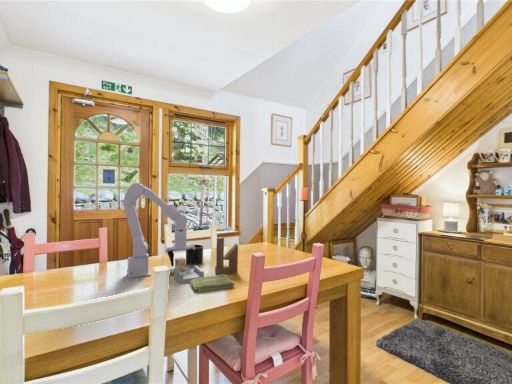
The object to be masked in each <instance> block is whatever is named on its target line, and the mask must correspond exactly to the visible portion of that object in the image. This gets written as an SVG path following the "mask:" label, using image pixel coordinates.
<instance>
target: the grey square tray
mask: <svg viewBox="0 0 512 384" xmlns="http://www.w3.org/2000/svg"><path fill="white" fill-rule="evenodd" d="M173 269H174V275H173V277H174V279H175V280H176V281H177V282H178V283H179V284H186V283H190V281H191V280H193V279H195V278H201V277H205V271H204V270H203V269H201V268H200V267H199V266H198V265H197V264H194V265H193V269H190V270H191V271H183V272H180V271H179V270H178V269H177V268H175V267H174V268H173Z"/></svg>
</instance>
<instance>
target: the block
mask: <svg viewBox="0 0 512 384" xmlns="http://www.w3.org/2000/svg"><path fill="white" fill-rule="evenodd" d="M174 260H175V261H174V268H177V269H178V270H179V271H180V272H181V271H185V267H186V257H175V258H174Z"/></svg>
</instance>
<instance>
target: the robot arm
mask: <svg viewBox="0 0 512 384" xmlns="http://www.w3.org/2000/svg"><path fill="white" fill-rule="evenodd" d="M140 197H142V198H146V199H149V200H151V201H152V202H153V203H155V204H156V205H157V206H158V207H160V208H161V213H162V214H164V215H165V216H166V217H168V219H169V220H171V221H174V224H175V225H174V227H175V228H174V246H169V247H165V248H164V252H165V253H167V256H168V257H169V261H170V265H171V268H172V267H175V261H174V260H175V258H174V257H175V253H174V252H182V251H185V265H190V264H189V261H190V258H191V256H192V254H193V250H195V246H194V245H195V244H189V245H187V224H188V219H187V217H186V215H185V214H184V213H183V212H182V211H181V210H179V209H177V208H176V207H175V204H171V203H166V201H164V200H163V199H162V198H161V197H159V196H158V195H157V194H156V193H155V192H154V191H153V190H151V189H150V188H148V187H147V186H145V185H144V184H142V183H140V182H135V183H132V184H130V186H129V187H128V188H127V190H126V193H125V196H124V198H123V200H122V204H123V209H124V212H125V213H124V214H125V216H126V219H127V223H128V227H129V230H130V235H131V238H132V247H133V248H132V256H129V257H127V269H126V273H127V276H128V278H129V279H132V278H138V277H146V276H147V277H149V276H151V273H150V271H149V265H150V264H149V263H150V262H149V259H150V257H149V256H150V254H149V253H148V249H149V243H148V242H147V241H146V240H145V237H144V234H143V232H142V228H141V224H140V220H139V216H138V213H137V208H136V205H135V204H136V202H137V200H138V199H139V198H140ZM186 256H187V258H186Z"/></svg>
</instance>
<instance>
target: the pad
mask: <svg viewBox="0 0 512 384" xmlns="http://www.w3.org/2000/svg"><path fill="white" fill-rule="evenodd" d="M191 270H192V269H190V267H188V266H187V267H186V266H185V271H191ZM181 272H183V271H181ZM169 274H170V275H171V276H174V268H170V273H169Z"/></svg>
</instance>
